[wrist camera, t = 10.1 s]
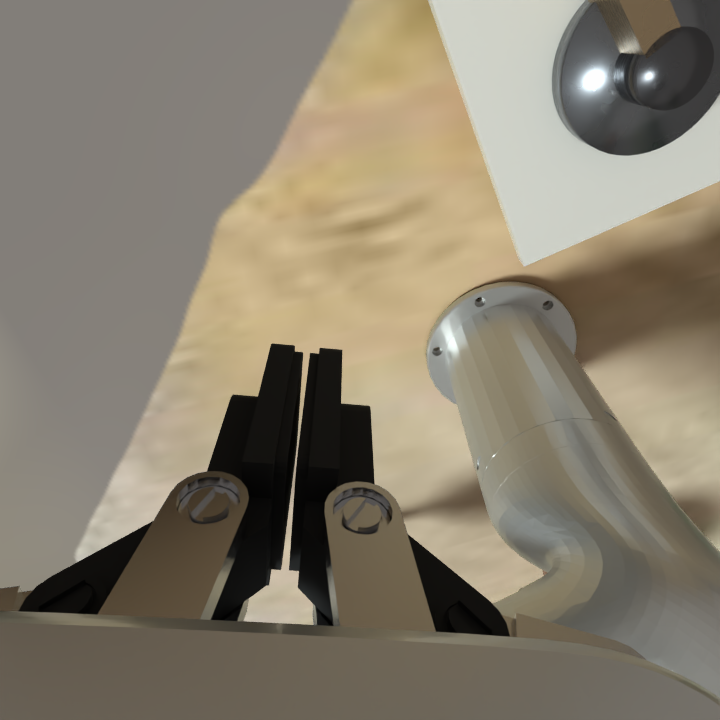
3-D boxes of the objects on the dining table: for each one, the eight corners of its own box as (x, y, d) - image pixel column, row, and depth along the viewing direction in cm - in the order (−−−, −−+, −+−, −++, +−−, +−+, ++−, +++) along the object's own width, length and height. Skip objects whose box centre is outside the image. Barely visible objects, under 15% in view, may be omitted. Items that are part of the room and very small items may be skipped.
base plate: (795, 137, 37) (813, 141, 35) (518, 259, 41) (525, 267, 40) (779, -238, 27) (803, -253, 25) (419, -24, 31) (423, -26, 30)
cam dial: (740, 76, 33) (798, 83, 29) (595, 180, 36) (627, 200, 32) (635, -202, 26) (690, -246, 22) (468, -43, 30) (488, -55, 25)
